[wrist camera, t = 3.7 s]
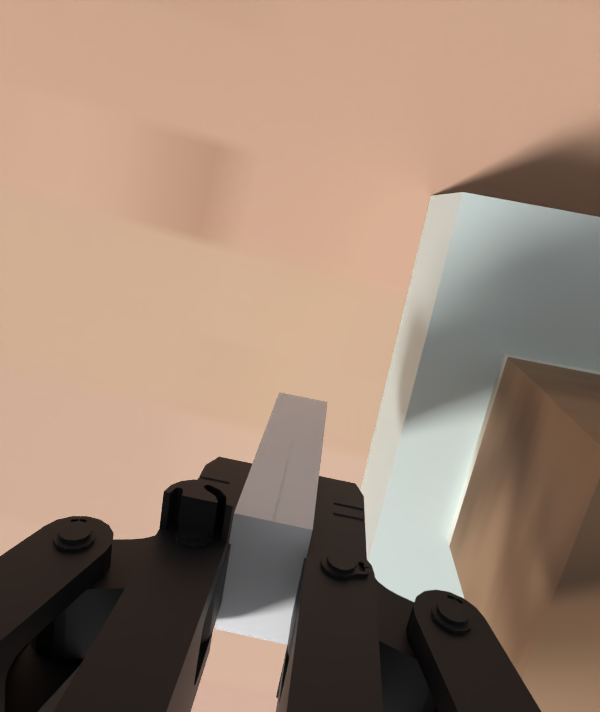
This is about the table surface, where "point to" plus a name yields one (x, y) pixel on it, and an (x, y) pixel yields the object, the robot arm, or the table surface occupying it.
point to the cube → (537, 528)
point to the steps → (468, 364)
